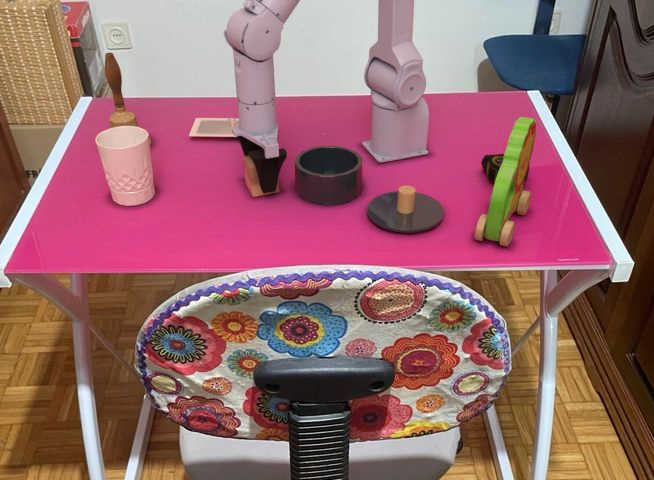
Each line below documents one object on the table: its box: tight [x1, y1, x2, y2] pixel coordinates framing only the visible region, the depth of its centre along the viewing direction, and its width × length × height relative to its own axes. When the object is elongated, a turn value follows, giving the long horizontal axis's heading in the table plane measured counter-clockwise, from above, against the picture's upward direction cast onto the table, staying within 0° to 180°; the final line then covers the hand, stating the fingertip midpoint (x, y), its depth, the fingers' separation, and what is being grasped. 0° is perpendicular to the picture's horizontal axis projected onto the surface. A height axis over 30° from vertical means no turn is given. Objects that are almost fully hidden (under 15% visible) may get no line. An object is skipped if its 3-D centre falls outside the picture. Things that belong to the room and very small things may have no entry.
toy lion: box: [473, 116, 537, 248], centre depth 104 cm, size 16×5×15 cm, turn 155°
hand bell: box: [104, 52, 152, 146], centre depth 124 cm, size 8×8×16 cm
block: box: [243, 155, 280, 198], centre depth 115 cm, size 4×4×5 cm
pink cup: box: [95, 126, 156, 207], centre depth 112 cm, size 8×8×10 cm
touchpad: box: [188, 117, 239, 138], centre depth 132 cm, size 8×15×2 cm, turn 88°
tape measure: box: [480, 153, 531, 183], centre depth 117 cm, size 7×7×4 cm
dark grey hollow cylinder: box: [294, 145, 363, 206], centre depth 115 cm, size 11×11×5 cm
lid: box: [366, 184, 445, 234], centre depth 109 cm, size 12×12×4 cm
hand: (261, 180), depth 116 cm, fingers open, 7 cm apart
